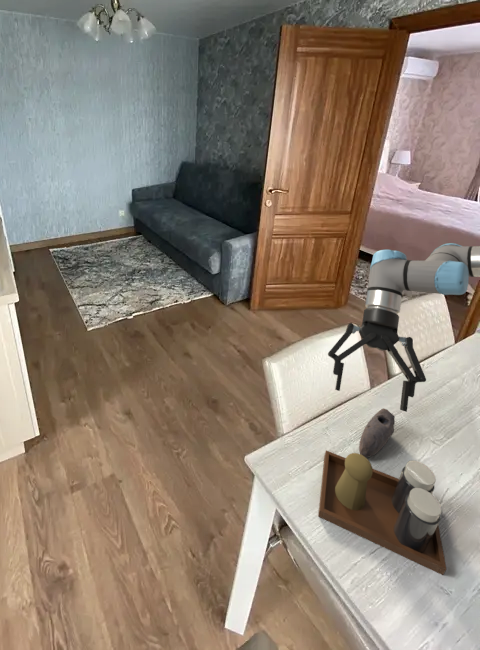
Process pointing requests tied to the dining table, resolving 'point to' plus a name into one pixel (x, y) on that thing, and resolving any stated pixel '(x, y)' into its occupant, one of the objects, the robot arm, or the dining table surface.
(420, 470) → the shaker
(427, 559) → the spice tray
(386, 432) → the perforated stone tool
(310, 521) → the dining table surface
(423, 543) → the shaker
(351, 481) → the cork
